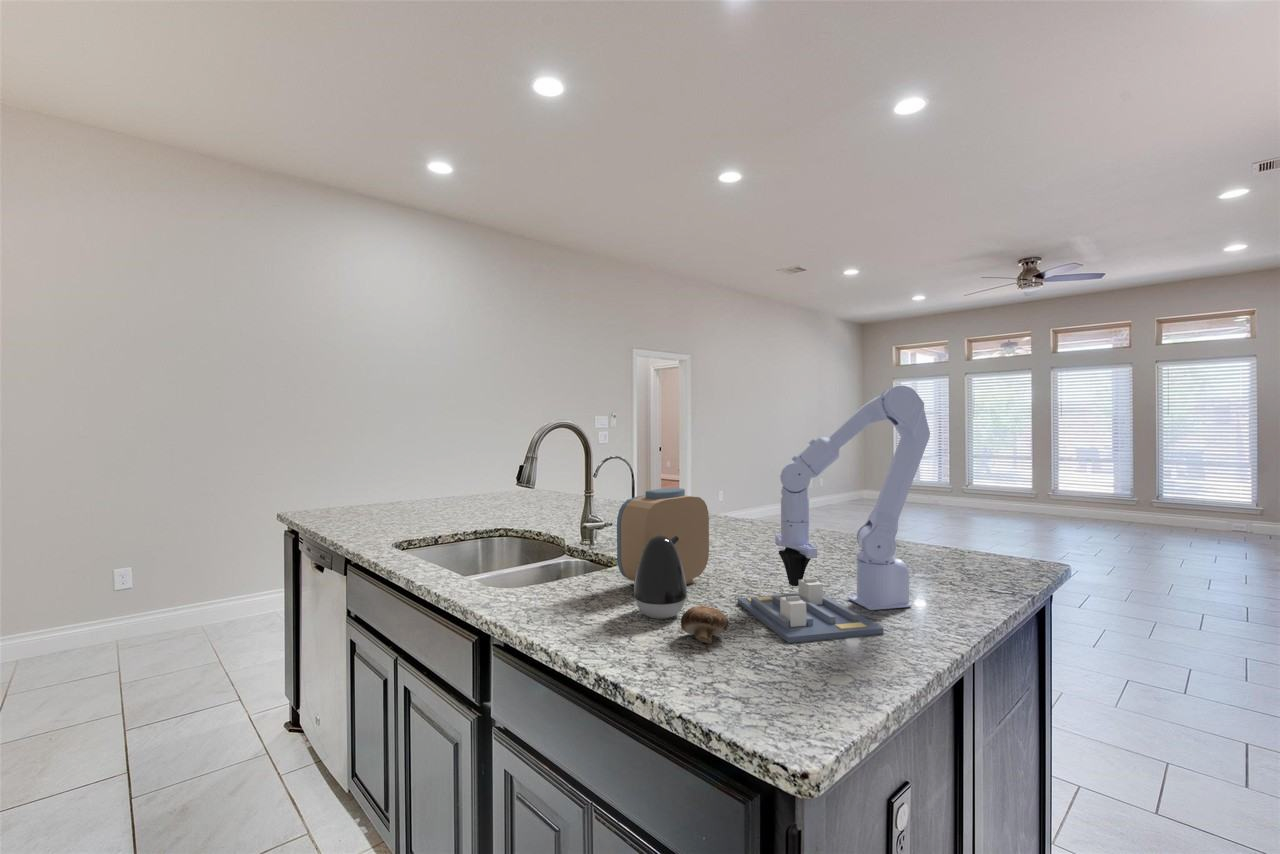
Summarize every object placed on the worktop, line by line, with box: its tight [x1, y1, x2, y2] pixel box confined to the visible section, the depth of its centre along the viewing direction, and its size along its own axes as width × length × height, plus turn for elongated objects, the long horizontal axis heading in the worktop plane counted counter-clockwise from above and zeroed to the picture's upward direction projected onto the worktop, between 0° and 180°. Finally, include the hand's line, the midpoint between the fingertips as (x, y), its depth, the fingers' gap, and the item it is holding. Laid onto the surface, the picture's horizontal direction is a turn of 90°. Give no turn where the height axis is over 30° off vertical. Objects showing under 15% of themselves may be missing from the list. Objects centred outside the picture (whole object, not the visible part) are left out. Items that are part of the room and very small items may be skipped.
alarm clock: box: [616, 487, 710, 586], centre depth 132 cm, size 21×10×22 cm, turn 133°
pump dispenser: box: [633, 536, 688, 620], centre depth 111 cm, size 10×10×15 cm
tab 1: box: [780, 596, 806, 627], centre depth 103 cm, size 3×4×5 cm
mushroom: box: [680, 605, 730, 645], centre depth 98 cm, size 8×8×6 cm
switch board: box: [737, 592, 884, 644], centre depth 109 cm, size 18×22×2 cm
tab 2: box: [798, 577, 824, 605], centre depth 115 cm, size 3×4×5 cm
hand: (795, 585), depth 121 cm, fingers closed
